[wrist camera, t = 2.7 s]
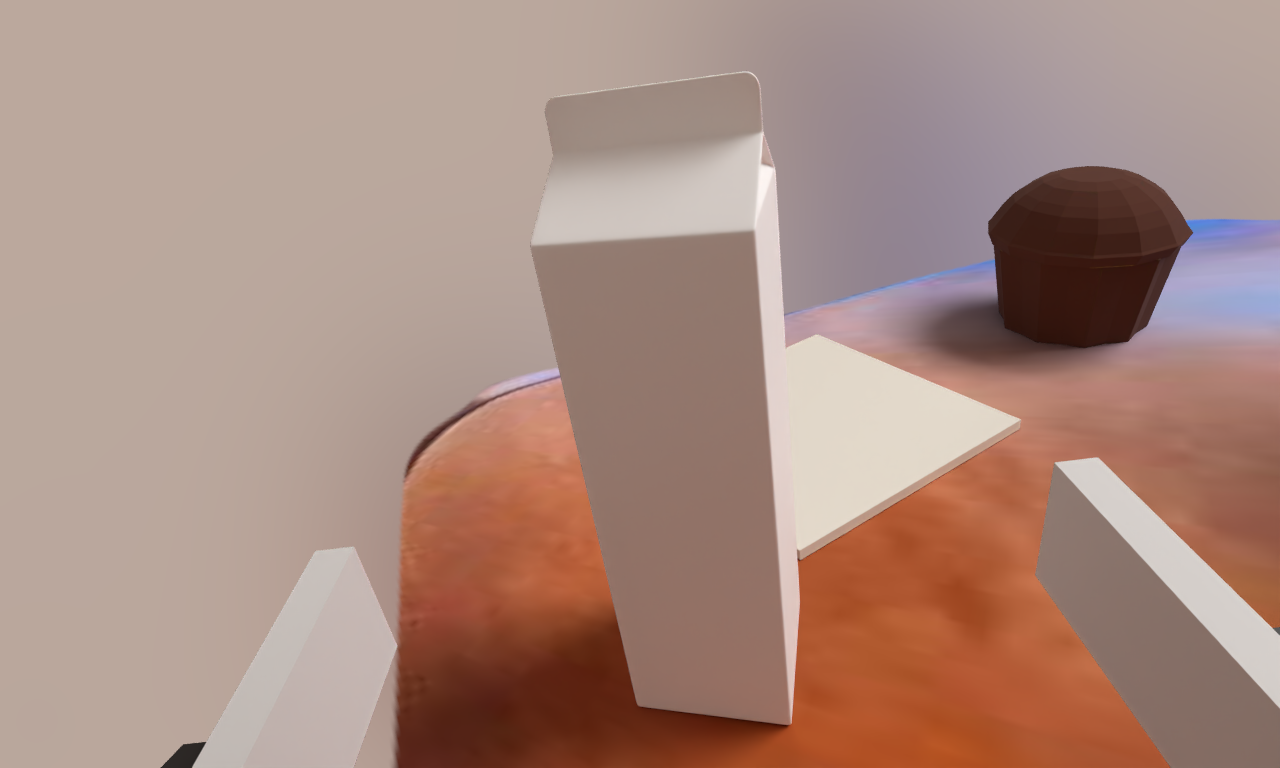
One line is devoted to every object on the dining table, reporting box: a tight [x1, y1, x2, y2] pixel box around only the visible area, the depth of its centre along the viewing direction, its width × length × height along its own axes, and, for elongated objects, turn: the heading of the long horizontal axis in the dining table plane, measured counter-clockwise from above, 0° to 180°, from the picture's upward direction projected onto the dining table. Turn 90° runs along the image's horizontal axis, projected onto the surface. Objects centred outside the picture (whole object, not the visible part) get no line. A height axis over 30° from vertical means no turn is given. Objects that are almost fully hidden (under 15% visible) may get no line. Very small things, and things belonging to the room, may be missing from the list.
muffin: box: [988, 166, 1193, 348], centre depth 47 cm, size 12×11×10 cm
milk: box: [530, 72, 800, 725], centre depth 24 cm, size 6×6×22 cm
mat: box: [786, 334, 1021, 560], centre depth 42 cm, size 16×16×1 cm
